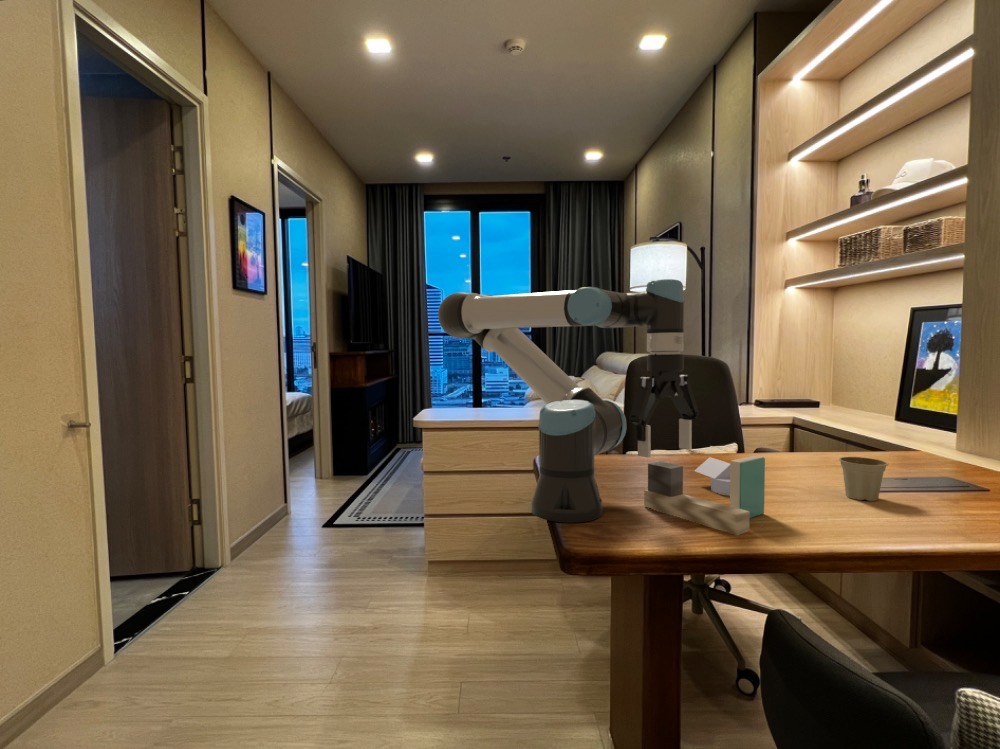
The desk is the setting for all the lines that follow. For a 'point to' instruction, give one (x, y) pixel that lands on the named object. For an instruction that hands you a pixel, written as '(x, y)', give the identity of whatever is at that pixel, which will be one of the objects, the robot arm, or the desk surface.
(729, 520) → the bar
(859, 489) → the flower pot
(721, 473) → the wedge on round base
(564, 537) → the desk surface
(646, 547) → the desk surface
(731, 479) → the tile
